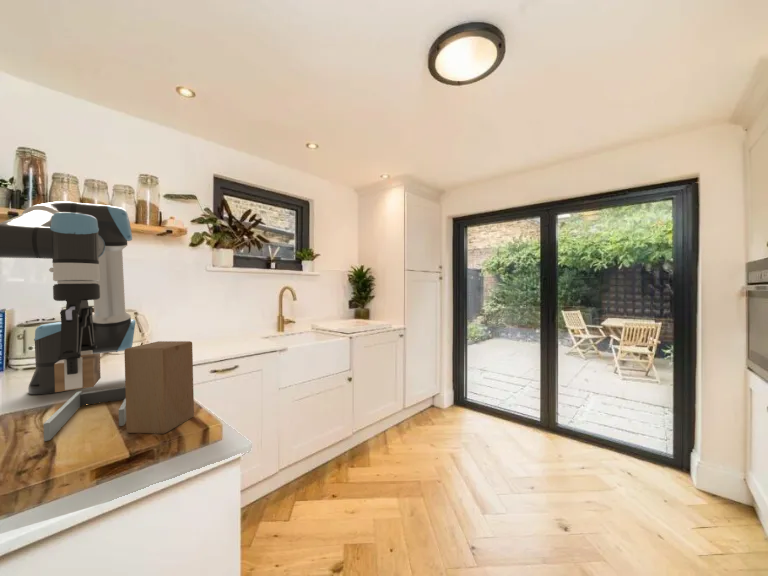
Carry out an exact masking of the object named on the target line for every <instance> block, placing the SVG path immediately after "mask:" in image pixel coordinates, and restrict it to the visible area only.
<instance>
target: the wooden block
mask: <svg viewBox="0 0 768 576" xmlns="http://www.w3.org/2000/svg"><path fill="white" fill-rule="evenodd" d="M193 357H194V356H193V342H192V341H188V340H187V341H186V340H183V341H181V340H178V341H176V340H175V341H172V340H171V341H165V340H164V341H162V340H161V341H160V340H159V341H155V342H150V343H144V344H141V345H136V346H132V347H131V348H127V349H125V350H124V381H125V384H124V385H125V391H126V422H125V424H126V433H131V434H134V433H135V434H160V435H161V434H162V435H163V434H166V433H168V432H170V431H172V430H174V429H175V428H177V427H179V426H180V425H182V424H183V423H185V422H187V421H189V420H190V419H191V418H193V417H194V415H195V404H194V403H195V402H194V401H195V398H194V396H195V395H194V361H193V360H194V359H193Z"/></svg>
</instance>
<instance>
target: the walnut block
mask: <svg viewBox="0 0 768 576" xmlns="http://www.w3.org/2000/svg"><path fill="white" fill-rule="evenodd" d="M80 357H82V359H83V387H82V388H76V389H69V390H65V375H64V360H60V361H58V362H57V363H55V364H54V372H55V392H56V393H61V391H62V392H66V391H73V390H81V389H87V388H94V387H95V386H96V384H97V383H99V380H100V379H101V375H102V374H101V353H98V354H88V355H81V356H80Z"/></svg>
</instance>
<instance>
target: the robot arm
mask: <svg viewBox="0 0 768 576" xmlns="http://www.w3.org/2000/svg"><path fill="white" fill-rule="evenodd" d="M132 240H133V235H132V228H131V222H130V217H129V215H128V211H127V210H126V209H125V208H123V207H119V206H113V205H109V204H107V205H105V204H95V203H84V202H83V203H82V202H75V201H74V202H73V201H53V202H45V203H40V204H35V205H32V206H29V207H27V208H25V209H24V210H23V211H22V212H21V214H19V215H17V216H14V217H12V218H10V219H6V220H4V221H2V222H0V258H2V259H3V258H6V259H7V258H9V259H11V258H12V259H15V258H16V259H51V260H52V261H51V263H52V267H50V268H49V269H48V271H49V272H50V273H52V281H53V282H57V283H54V285H53V286H52V297H53V301H56V302H66V303H65V304H66V305H65V308H64V309H61V310H60V312H59V314H60V321H57V322H49V323H45V324H41V325H39V326H37V327H36V328H35V330H34V339H33V341H34V357H35V358H34V359H35V360H34V361H35V369H34V373H33V375H32V377H31V379H30V382H29V384H28V386H27V387H28V388H27V391H28V394H29V395H47V394H56V393H57V392H55V372H54V364H55V363H57V362H58V361H60V360H64V375H65V390H68V391H70V390H69V389H75V390H77V389H76V388H82V387H83V359H82V357H80V356H81V355H88V354H98V353H100V354H106V353H107V354H108V353H118V352H123V351H125V349H127V348H131V347H133V343H134V337H135V336H134V335H135V328H136V327H135V326H136V323H137V322H136V320H135V319H133V318H131V314H129V313H128V312H127V311H126V301H125V278H124V261H123V258H124V257H123V249H125V248H126V247H127V246H128V242H131V241H132ZM88 301H93V306H91V305H90V306H89V302H88ZM93 312H94V314H93ZM82 389H83V388H82ZM61 392H63V391H61ZM61 392H60V393H61Z"/></svg>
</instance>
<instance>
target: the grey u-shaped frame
mask: <svg viewBox="0 0 768 576" xmlns="http://www.w3.org/2000/svg"><path fill="white" fill-rule="evenodd" d="M108 401H111V402H116V401H122V404H121V405H120V406H119V409H118V427H122V426H125V424H126V391H125V386H118V387H112V388H104V389H98V390H91V391H85V392H83V390H80V391H76V392H75V393H74V394H73V395H72V396H70V398H69V399H68V400H67V401H65V403H64V404H63V405H62V406H60V408H59V409H57V410H56V411H55V412H54V413H53V414H51V416H50V417H48V419H46V420H45V421H44V422H43V442H47V441H51V440H52V439H53V438H54V436H55V435H57V433H58V432H59V431H60V430H61V429H62V428H63V427H64V426H65V424H66V423H67V422H68V421H69V420H70V419H71V417H72V416H73V415H74V414H75V413H77V411H78V410H79V409H80V408H81V407H83V406H82V405H86V404H93V405H95V404H94V403H99V402H105V403H109V402H108ZM99 404H100V403H99ZM80 406H81V407H80ZM78 408H79V409H78ZM77 409H78V410H77ZM76 410H77V411H76ZM61 427H62V428H61Z"/></svg>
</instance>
